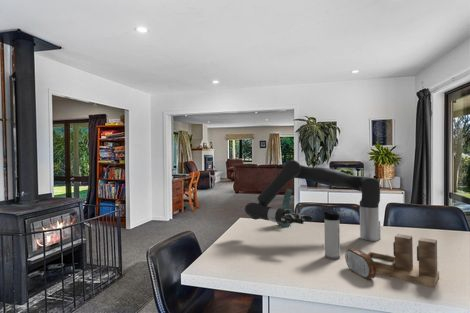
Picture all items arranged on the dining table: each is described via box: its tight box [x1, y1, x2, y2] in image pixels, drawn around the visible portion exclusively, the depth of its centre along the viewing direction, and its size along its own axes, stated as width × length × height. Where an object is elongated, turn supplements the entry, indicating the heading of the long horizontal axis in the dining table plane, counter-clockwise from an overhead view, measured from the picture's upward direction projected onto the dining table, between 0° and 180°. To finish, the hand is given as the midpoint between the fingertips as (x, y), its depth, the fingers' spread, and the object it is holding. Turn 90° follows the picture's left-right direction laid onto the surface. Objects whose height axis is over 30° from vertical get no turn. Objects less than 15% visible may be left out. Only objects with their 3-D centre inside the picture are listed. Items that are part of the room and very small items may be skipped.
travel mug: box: [323, 211, 341, 260], centre depth 123 cm, size 6×7×20 cm
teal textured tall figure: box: [276, 188, 294, 228], centre depth 181 cm, size 14×10×25 cm
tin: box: [344, 247, 377, 280], centre depth 105 cm, size 15×3×8 cm, turn 12°
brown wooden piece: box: [366, 233, 440, 288], centre depth 106 cm, size 24×11×14 cm, turn 47°
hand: (307, 220), depth 131 cm, fingers open, 8 cm apart
